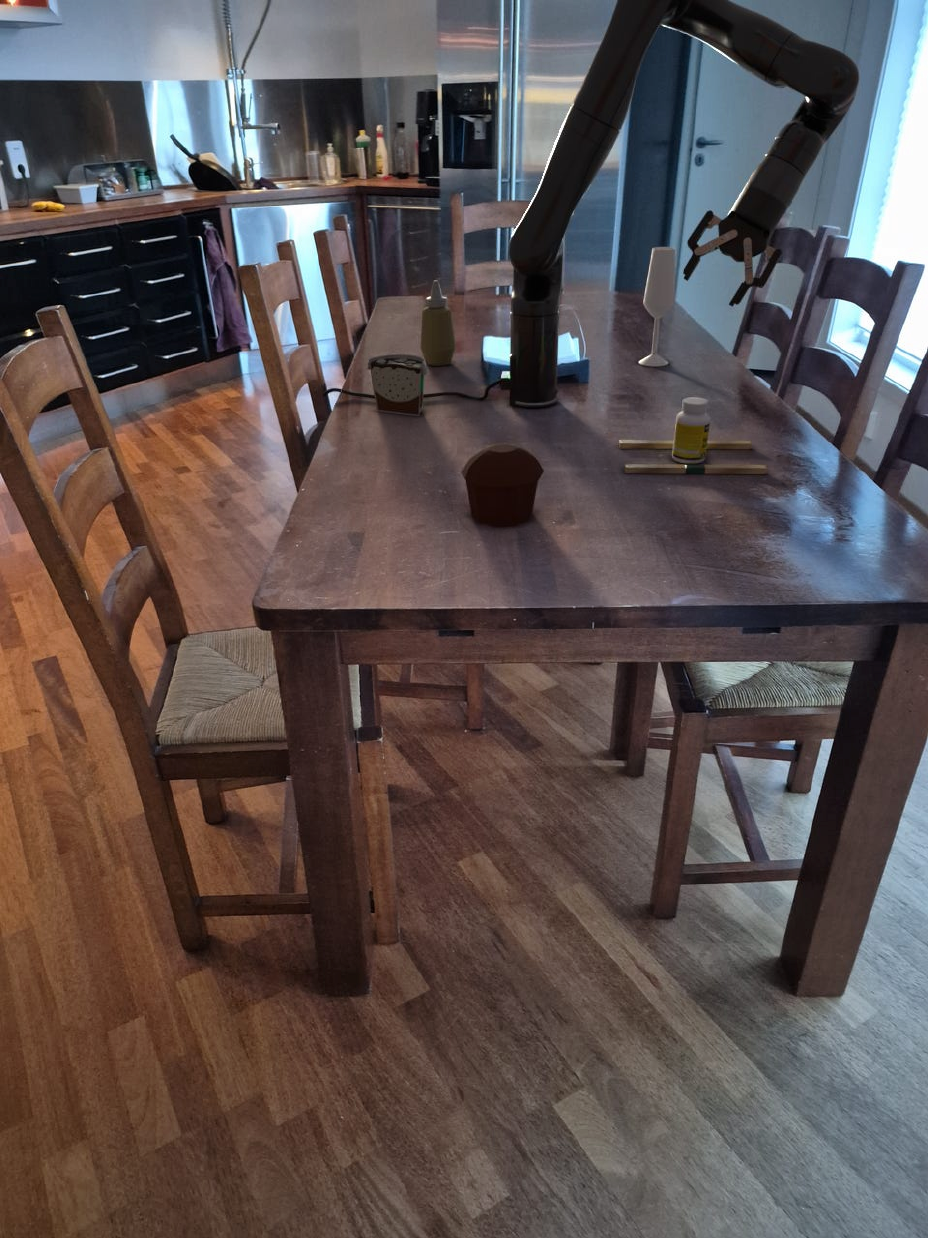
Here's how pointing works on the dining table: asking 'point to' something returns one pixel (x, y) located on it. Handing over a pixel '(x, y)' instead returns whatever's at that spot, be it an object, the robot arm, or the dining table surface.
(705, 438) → the supplement bottle
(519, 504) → the muffin
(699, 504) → the dining table surface
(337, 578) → the dining table surface
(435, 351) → the squeeze bottle
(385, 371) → the food container
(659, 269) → the champagne flute
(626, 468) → the lane
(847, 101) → the robot arm
